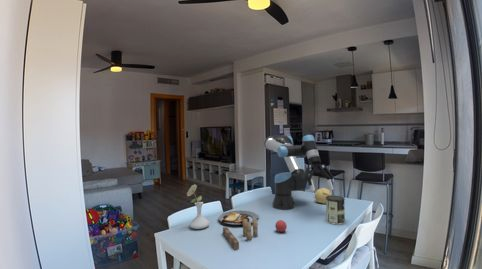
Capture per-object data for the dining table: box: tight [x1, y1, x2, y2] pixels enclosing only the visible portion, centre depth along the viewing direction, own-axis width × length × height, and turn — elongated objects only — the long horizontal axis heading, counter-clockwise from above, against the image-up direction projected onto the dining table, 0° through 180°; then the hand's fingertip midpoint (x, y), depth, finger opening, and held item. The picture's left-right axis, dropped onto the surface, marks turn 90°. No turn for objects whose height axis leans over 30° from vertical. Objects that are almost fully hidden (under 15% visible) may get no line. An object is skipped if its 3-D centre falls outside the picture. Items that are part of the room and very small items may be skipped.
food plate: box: [217, 210, 260, 226], centre depth 155 cm, size 25×23×4 cm
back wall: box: [222, 226, 240, 251], centre depth 126 cm, size 20×2×4 cm, turn 20°
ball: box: [274, 219, 287, 233], centre depth 136 cm, size 6×6×6 cm
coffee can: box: [325, 194, 346, 225], centre depth 149 cm, size 10×10×14 cm
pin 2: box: [246, 221, 252, 242], centre depth 127 cm, size 2×2×8 cm
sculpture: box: [314, 187, 333, 205], centre depth 186 cm, size 11×12×11 cm
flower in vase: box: [186, 184, 211, 230], centre depth 145 cm, size 13×11×25 cm
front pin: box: [252, 218, 259, 238], centre depth 131 cm, size 2×2×8 cm
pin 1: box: [242, 219, 247, 238], centre depth 132 cm, size 2×2×8 cm
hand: (322, 190), depth 153 cm, fingers open, 13 cm apart
